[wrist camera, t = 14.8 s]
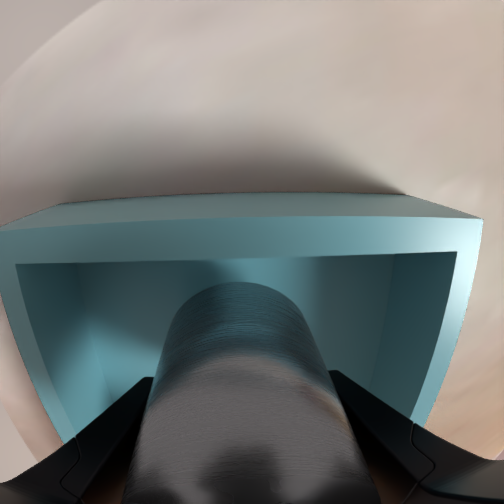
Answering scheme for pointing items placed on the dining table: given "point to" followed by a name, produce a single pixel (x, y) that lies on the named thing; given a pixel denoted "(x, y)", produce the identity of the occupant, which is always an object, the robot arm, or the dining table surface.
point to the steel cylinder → (244, 411)
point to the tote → (236, 270)
